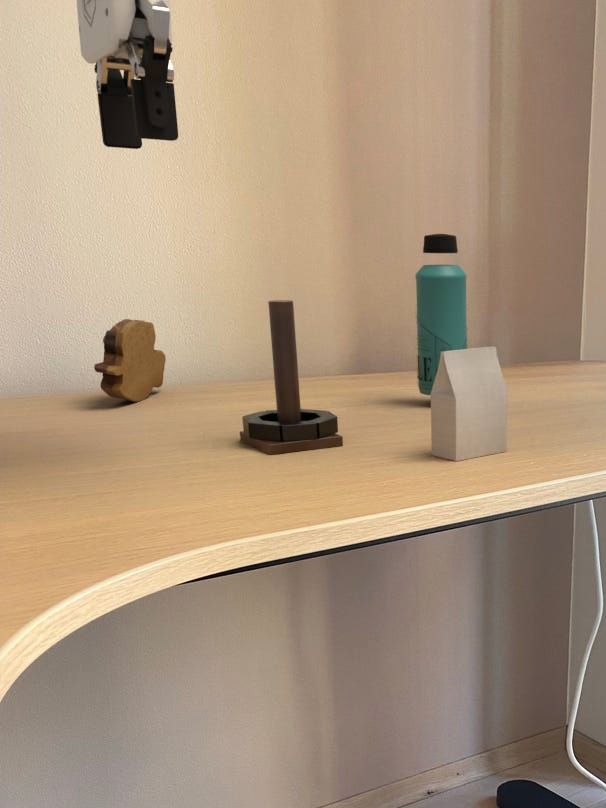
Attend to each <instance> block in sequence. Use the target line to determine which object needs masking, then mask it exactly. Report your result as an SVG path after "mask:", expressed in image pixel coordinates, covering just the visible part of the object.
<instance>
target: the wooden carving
mask: <svg viewBox="0 0 606 808" xmlns="http://www.w3.org/2000/svg"><path fill="white" fill-rule="evenodd" d="M156 338H157V337H156V331H155V325H154V323H153V322H149V321H145V320H141V319H129V318H124V319H122V320H120V321H118V322H116V323H115V324H114V325H112V327H111V328H110V329H108V330H106V332H105V335H103V338H102V343H103V360H102V362H98V363H95V364H94V366H93V369H94V371H95V372H96V373H99V374H102V377H101V378H102V379H101V381H100V389H101V390H102V391H103V392H104V393H105V394H106V395H108V397H112V398H114V399H120V400H121V399H122V400H124V401H128V402H134V403H139V402H142V401H143V400H146V399H147V397H148V396H149V395H150V394H151V392H152V391H153V389H154V388H158V389H159V388H161V387H162V386H163V385H164V384H163V383H164V373H165V367H166V366H165V364H166V360H167V359H166V357H167V356H166V354H165V353H164V351H162V350H160V349H155V343H156V341H157V340H156Z"/></svg>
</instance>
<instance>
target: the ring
mask: <svg viewBox="0 0 606 808" xmlns="http://www.w3.org/2000/svg"><path fill="white" fill-rule="evenodd" d="M338 424H339V423H338V416H337V415H336V414H334V413H332V412H331V411H329V410H322V409H309V408H301V422H286V423H282V422H278V418H277V409H269V410H261V411H257V412H253V413H250V414H246V415H243V416H242V429H243V430H242V431H244V433H245V434H246V435H247V436H248V437H249V438H251V439H259V440H269V441H279V442H280V441H284V442H285V441H299V440H312V439H317V438H318V439H321V438H323V437H326V436H329V435H332V434H337V433H338V432H339V425H338Z"/></svg>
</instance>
